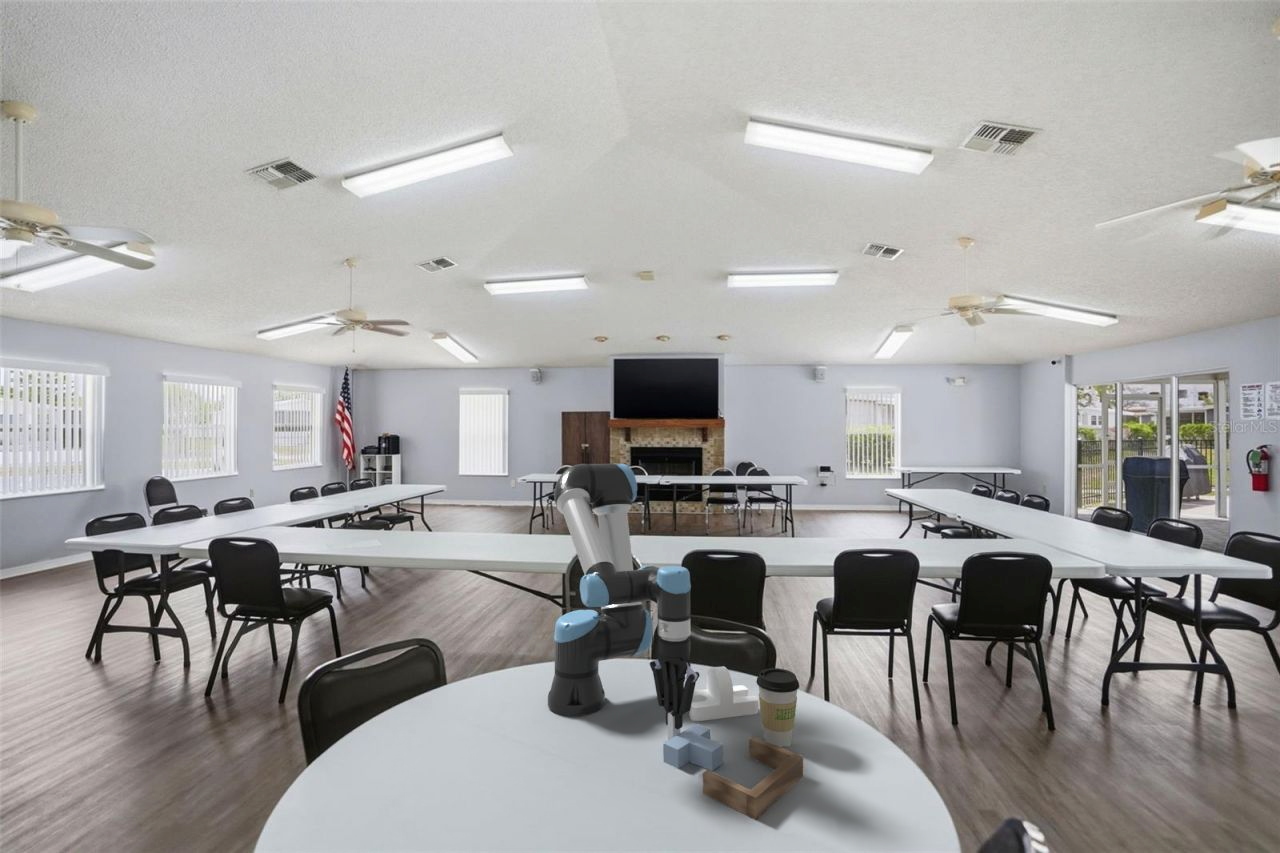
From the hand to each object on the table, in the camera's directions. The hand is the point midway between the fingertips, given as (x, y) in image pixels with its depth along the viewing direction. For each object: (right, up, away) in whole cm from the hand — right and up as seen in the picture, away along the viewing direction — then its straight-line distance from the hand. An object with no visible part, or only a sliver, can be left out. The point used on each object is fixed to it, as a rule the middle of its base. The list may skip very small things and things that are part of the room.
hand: (674, 740), depth 131 cm
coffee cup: (+24, -2, +4) cm, 25 cm away
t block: (+5, -2, -4) cm, 7 cm away
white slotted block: (+13, -3, +19) cm, 23 cm away
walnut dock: (+16, -1, -14) cm, 22 cm away
